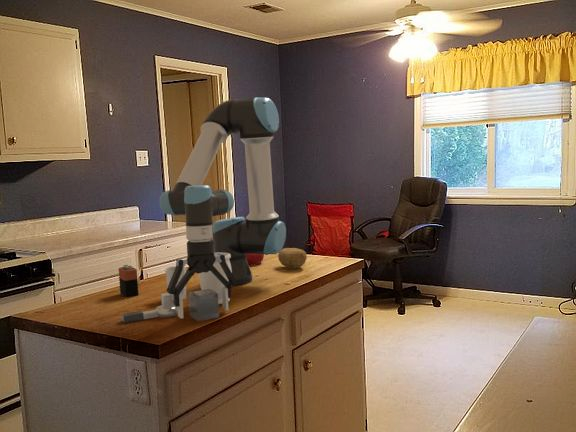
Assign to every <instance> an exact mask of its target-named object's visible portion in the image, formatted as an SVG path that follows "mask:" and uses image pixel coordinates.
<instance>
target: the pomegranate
mask: <svg viewBox="0 0 576 432" xmlns="http://www.w3.org/2000/svg"><path fill="white" fill-rule="evenodd" d="M264 257H265V254H246V259H247V262H248V265H249V266H256V264H257V265H259V264H261V263H262V262H263V260H264Z"/></svg>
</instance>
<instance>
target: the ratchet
mask: <svg viewBox="0 0 576 432" xmlns="http://www.w3.org/2000/svg"><path fill="white" fill-rule="evenodd" d="M160 297H161V298H160V299H161V305H159V306H158V305H157V306H156V307H155V308H154V309H151V310H148V311H147V310H146V311H142V310H138V311H130V312H125V313H121V321H122V323H124V324H128V323H134V322H139V321H144V320H149V319H153V318H161V319H162V318H163V319H164V318H172V317H173V318H174V317H176V316H177V317H178V308H177V307H176V306H175V305H174V300H173V297H172V294H169V293H168V292H165V293H164V292H163V293H160Z"/></svg>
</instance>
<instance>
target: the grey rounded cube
mask: <svg viewBox="0 0 576 432" xmlns="http://www.w3.org/2000/svg"><path fill="white" fill-rule="evenodd" d="M188 303H189V317H191V318H192V319H194V320H195V321H197V322H201V321H207V320H211V319H218V318H220V312H219V311H220V308H219V305H218V293H216V292H214V291H212V290H211V289H206V290H195V291H189V292H188Z"/></svg>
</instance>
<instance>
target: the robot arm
mask: <svg viewBox="0 0 576 432" xmlns="http://www.w3.org/2000/svg"><path fill="white" fill-rule="evenodd" d="M279 127H280V117H279V112H278V109H277V107H276V104H275V103H274V101H273V100H272V99H270V98H269V97H258V96H257V97H251V98H249V97H248V98H239V99H238V98H237V99H227V100H225V101H223V102H221V103H220V104H218V105H217V106H215V107H214V108H213V109H212V110H211V111H210V112H209V113H208V115H207V116H206V117H205V119H204V120H203V122H202V124H201V125H200V128H199V129H200V134H199V136H198V138H197V141H196V143H195V145H194V147H193V148H192V149H191V153H190V155H189V157H188V158H187V161H186V162H185V164H184V166H183V168H182V170H181V173H180V174H179V175H178V176H179V177H178V179H177V181H176V182H175V185H174V186H173V188H172V189H169V190H165V191H163V192H161V194H160V196H159V207H160V209H161V211H162V213H164V214H165V215H169V216H170V215H171V216H185V233H186V235H185V236H186V239H187V242H186V254H187V258H185V259H181V258H177V259H176V261H175V263H176V264H175V266H176V268H175V271H174V273H173V275H172V278H171V280H170V283H169V285H168V288H167V287H166V293H169V294H173V296H174V300H173V304H174V305H175V306H176V307H177V308H178V315H177V317H178V318H180V319H184V302H183V300H184V299H183V298H182V295H181V294H180V293H181V291H182V290H183V288H184V287H185V286H186V287H187V285H188V283H189V281H190V280H191V279H192V277H194V275H195V274H199V273H202V272H208V271H211V272H212V273H213V274H214V275H215V276H216V277H217V278H218V279H219V280H220V282H221V283H222V284H223V285H224V286H225V287H222V304H221V305H222V310H224V311H225V312H226V311H230V309H229V302H228V298H230V299H231V297H232V292H231V289H232V287H233V286H239V285H240V286H241V285H245V284H248V283H250V282H252V281H253V273H252V271H251V268H250V265H248V262H247V259H246V254H264V256H268V255H277V254H279V252H280V251H281V250H282V249H284V245H285V241H286V236H287V228H286V227H287V226H286V224H285V222H283V221H280V217H279V214H278V213H277V212H276V211H275V205H274V203H275V202H274V191H273V175H272V173H273V172H272V160H271V159H272V157H271V144H270V143H271V142H272V141H273V139H274V137H275V136H274V133H275V132H277V131H278V129H279ZM231 135H239V140H240V141H241V142H242V143H243V144H244V150H245V151H244V153H245V166H246V179H247V181H246V182H247V193H248V194H247V195H248V208H249V213H248V214H247V216H246V217H244V216H235V217H229V218H223V219H218V220H216V221H213V217H215V216H223V215H225V214H228V213H230V212H231V211H232V210H233V207H234V206H235V199H234V196H233V195H232V193H231V192H230V191H229V190H226V189H220V188H218V189H216V190H215V189H214V190H212V188H211V186H210V185H208V184H204V181H205V179H206V177H207V175H208V173H209V170H210V169H211V166H212V165H213V163H214V160H215V158H216V156H217V154H218V151H219V149H220V147H221V145H222V144H223V143H225V142H226V141H227V140H228V137H229V136H231ZM203 184H204V185H203ZM215 252H223V253H229V254H231V258H230V259H229V261H230V264H231V269H232V273H231V271H230V269H229V267H228V265H227V263H226V261H225V256H224V255H222V254H218V255H217V256H214V253H215ZM216 260H217V262H219V264H220V265H221V267H222V269H223V271H224V273H225V275H226V276H227V278H228V280H229V281H227V280H226V279H225V278H224V277H223V276H222V275H221V274H220V273H219V272H218V271H217V269H216V268H215V267H214V266H213V264H214V262H215V261H216ZM186 265H187V266H188V267H187V269H186V273H185V275H184V276H183V277H182V279H181V280H180V282H179V283H178V285H177V286H176V284H177V282H178V280H179V277H180V275H181V272H182V270H183V267H186Z"/></svg>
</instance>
